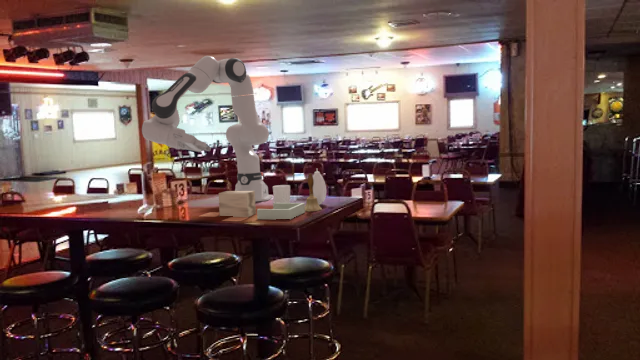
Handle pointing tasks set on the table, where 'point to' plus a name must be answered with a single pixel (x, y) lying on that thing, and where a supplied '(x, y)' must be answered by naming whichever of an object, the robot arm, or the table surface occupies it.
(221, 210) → the pale maple block
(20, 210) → the table surface
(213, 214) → the trap pits
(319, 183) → the white tall oval shape
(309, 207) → the hand bell
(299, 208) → the pale green tray
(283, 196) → the white cup
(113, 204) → the table surface
